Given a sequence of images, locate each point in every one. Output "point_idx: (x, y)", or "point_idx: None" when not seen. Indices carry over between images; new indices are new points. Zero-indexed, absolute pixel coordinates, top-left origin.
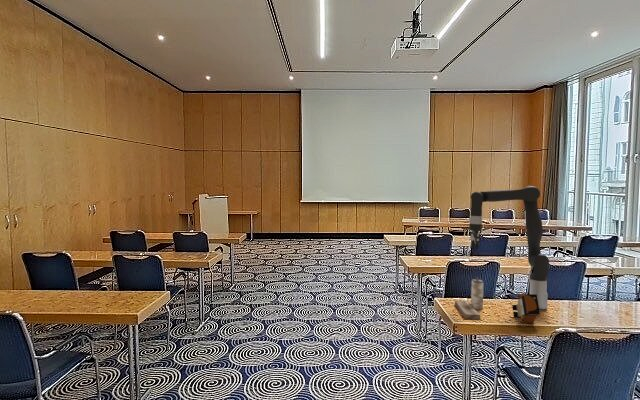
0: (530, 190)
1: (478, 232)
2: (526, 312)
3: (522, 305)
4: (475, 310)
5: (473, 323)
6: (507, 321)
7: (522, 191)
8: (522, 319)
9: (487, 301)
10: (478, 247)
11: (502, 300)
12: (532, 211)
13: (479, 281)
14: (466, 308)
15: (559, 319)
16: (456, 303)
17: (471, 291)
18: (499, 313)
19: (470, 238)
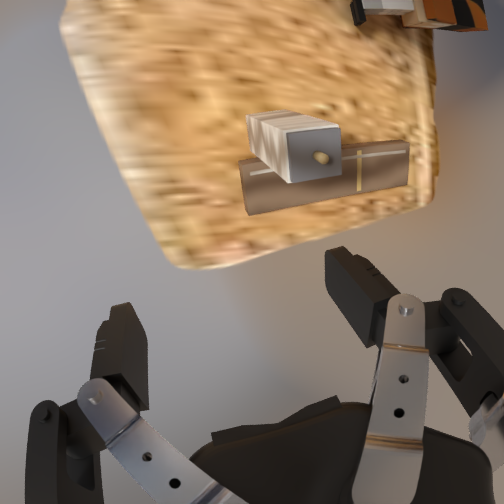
0: None
1: (492, 496)
2: (450, 29)
3: (441, 26)
4: (368, 149)
5: (428, 163)
6: (402, 64)
7: None
8: (412, 27)
9: (134, 82)
10: (355, 259)
11: (92, 24)
12: None
13: (340, 147)
14: (351, 176)
15: None
16: (276, 208)
17: (269, 166)
18: (324, 59)
19: (80, 465)
